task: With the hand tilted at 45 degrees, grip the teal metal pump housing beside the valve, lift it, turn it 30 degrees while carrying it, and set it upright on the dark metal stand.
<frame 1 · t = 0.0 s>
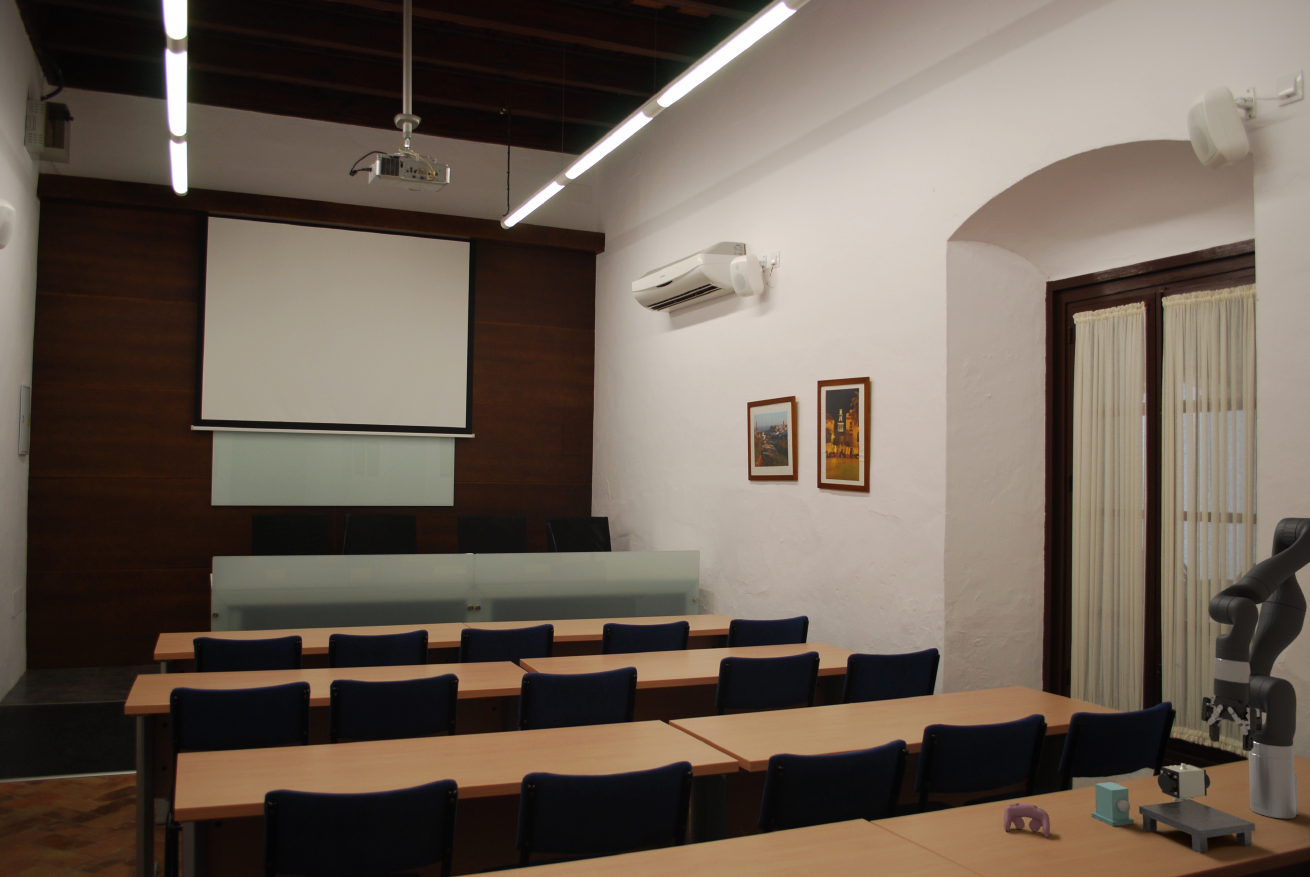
hand: (1230, 745, 215), 17 cm above the table, tool pointing down, fingers open, 8 cm apart
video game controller: (1026, 832, 204), on the table
pneumatic valve: (1183, 813, 217), on the table
stand: (1196, 837, 201), on the table
housing: (1112, 820, 211), on the table
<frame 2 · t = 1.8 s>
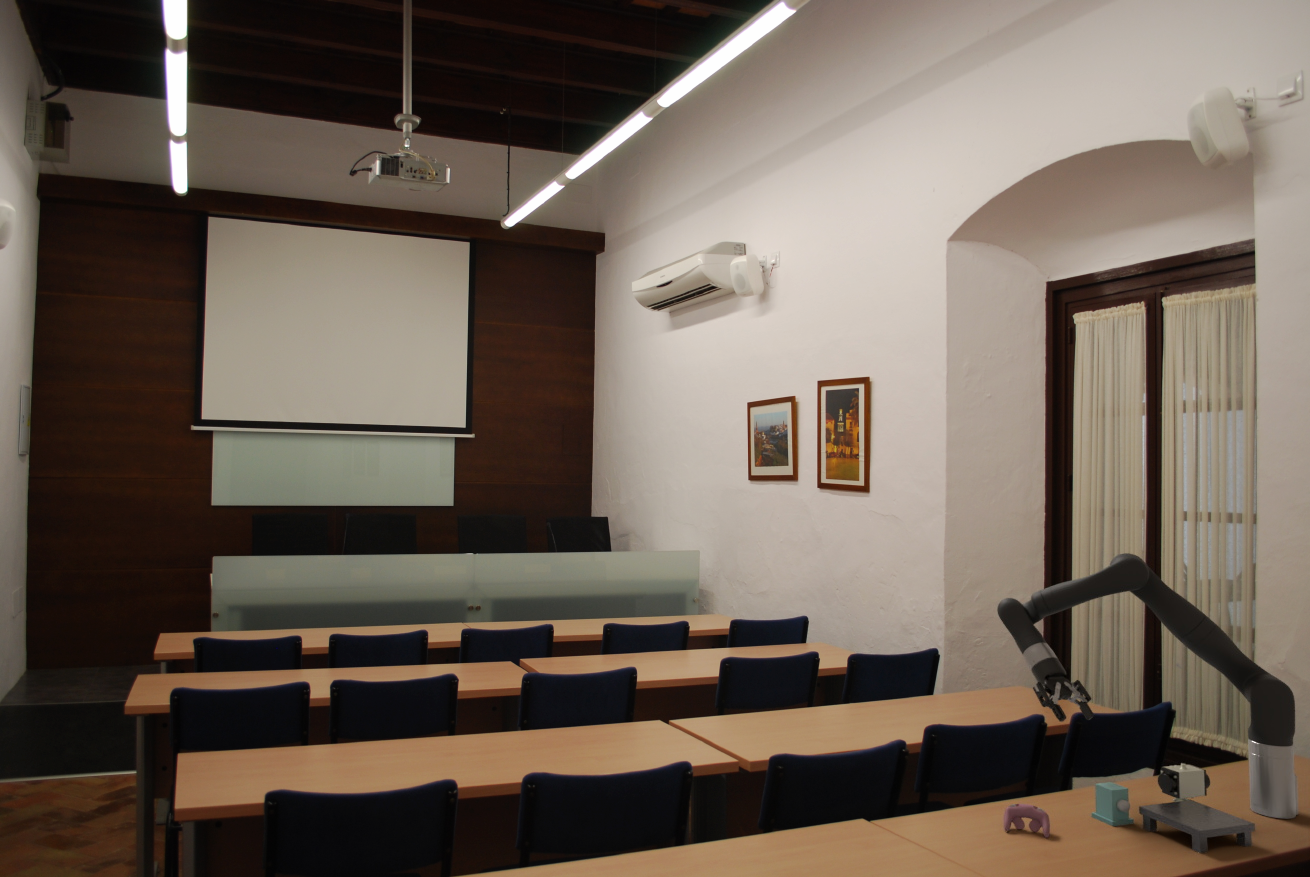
hand: (1077, 719, 222), 21 cm above the table, tool tilted 45°, fingers open, 8 cm apart
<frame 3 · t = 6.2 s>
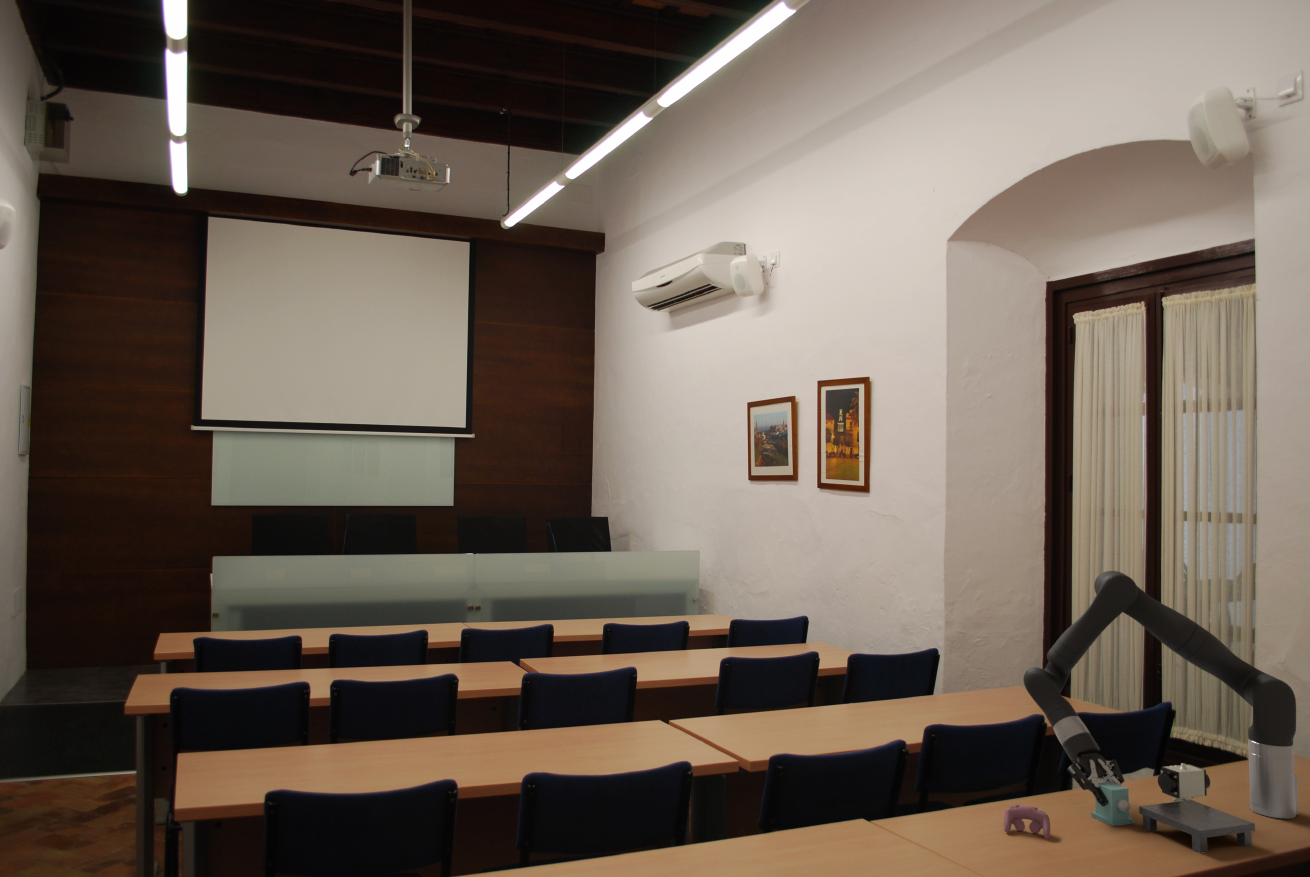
hand: (1114, 803, 211), 4 cm above the table, tool tilted 45°, fingers closed on housing, 5 cm apart
housing: (1112, 820, 211), on the table, touching gripper
when the fingers open (11 cm above the table, at t = 11.2 s): housing drops 1 cm, resting on stand.
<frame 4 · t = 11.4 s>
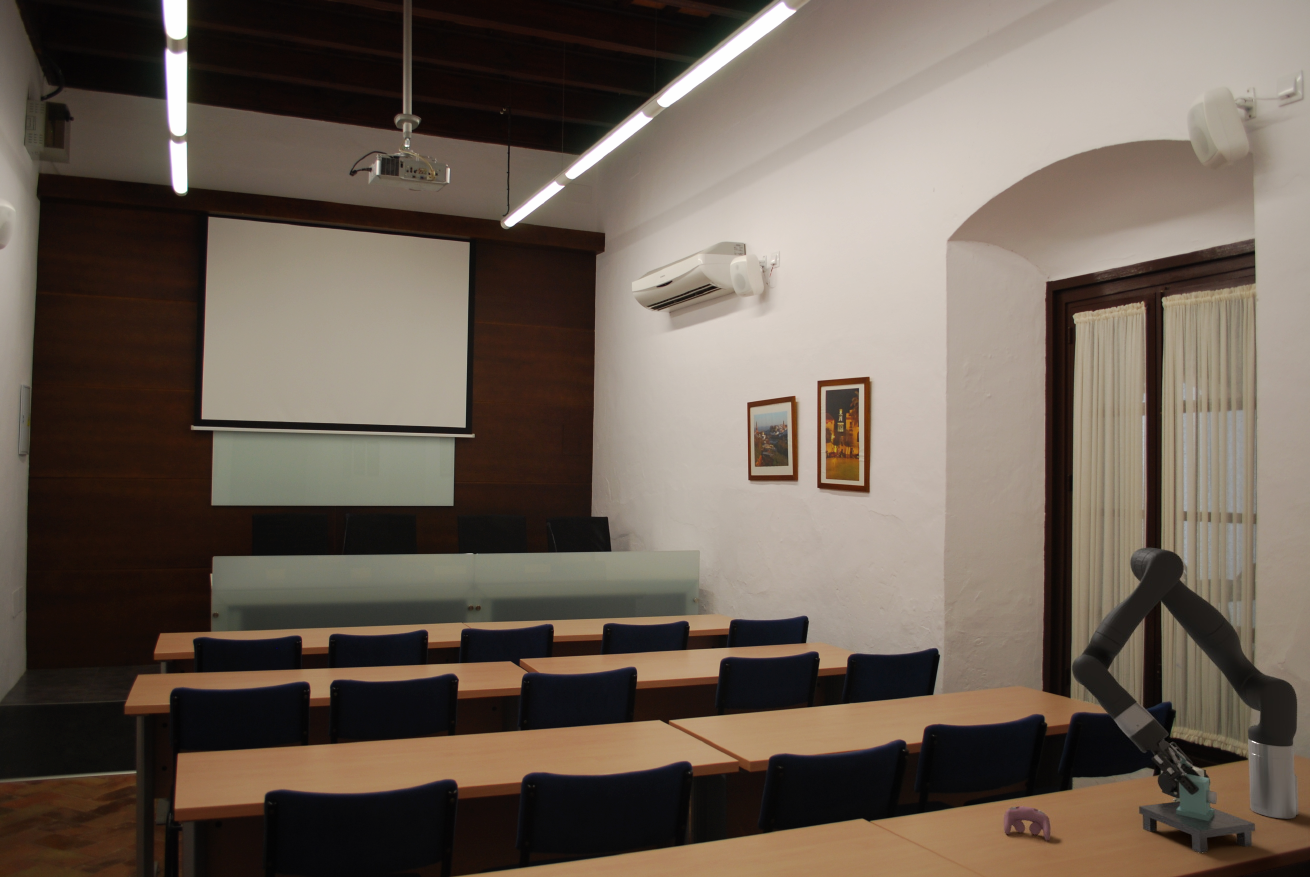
hand: (1199, 788, 202), 11 cm above the table, tool tilted 45°, fingers open, 6 cm apart
housing: (1195, 813, 202), point 5 cm above the table, touching stand
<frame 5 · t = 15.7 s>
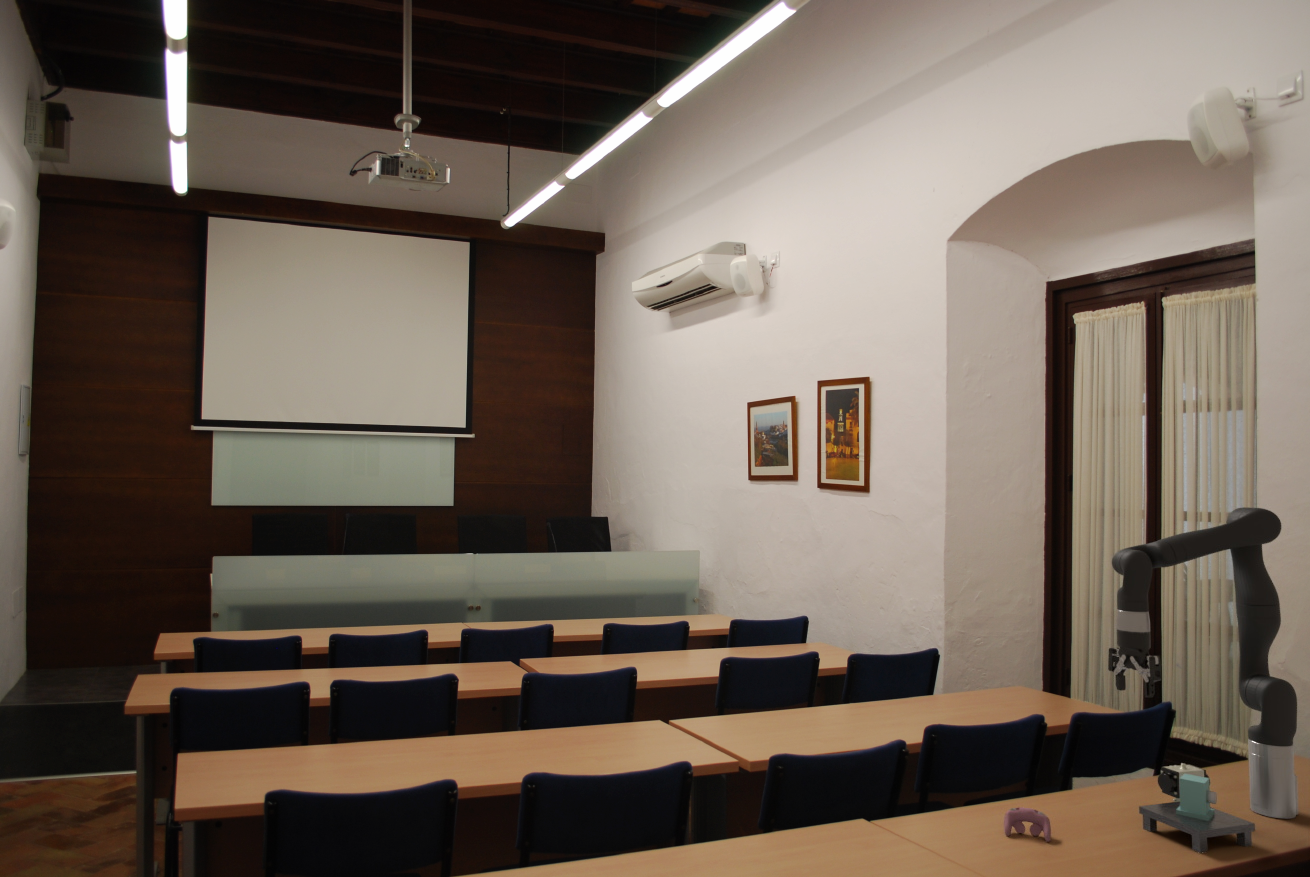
hand: (1134, 693, 222), 28 cm above the table, tool pointing down, fingers open, 8 cm apart
at the end: housing inside the target area on the stand (0.5 cm from its centre), point 5.0 cm above the stand's base; housing tilted 0°; the gripper is holding nothing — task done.
